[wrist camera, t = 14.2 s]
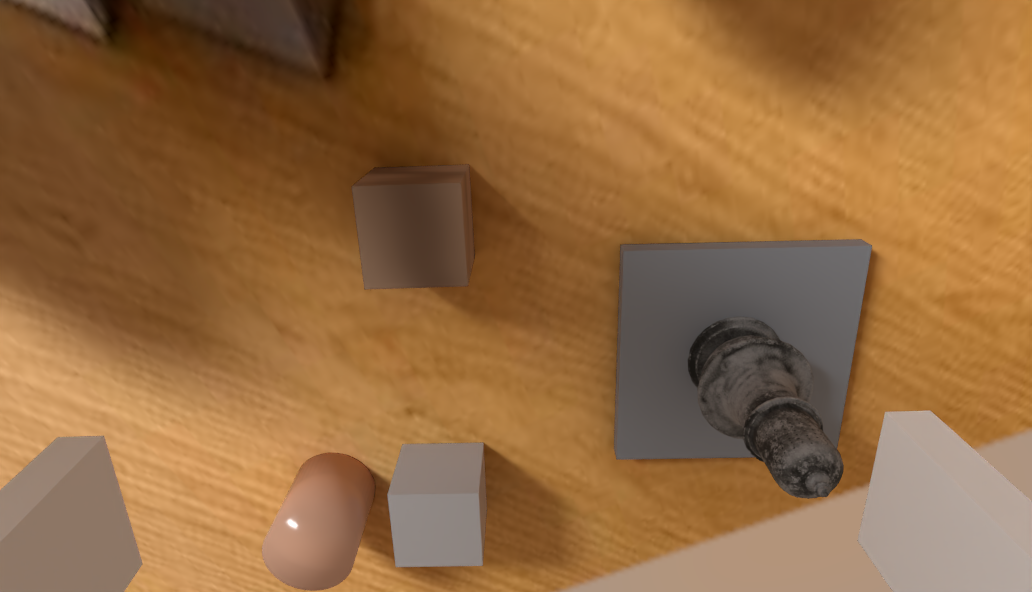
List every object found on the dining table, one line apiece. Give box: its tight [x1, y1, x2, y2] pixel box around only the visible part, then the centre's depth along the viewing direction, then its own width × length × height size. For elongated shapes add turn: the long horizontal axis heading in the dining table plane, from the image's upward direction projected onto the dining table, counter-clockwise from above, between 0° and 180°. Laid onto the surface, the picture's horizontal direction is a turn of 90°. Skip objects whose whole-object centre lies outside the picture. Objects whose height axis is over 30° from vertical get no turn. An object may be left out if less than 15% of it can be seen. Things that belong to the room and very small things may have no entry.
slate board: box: [614, 239, 872, 459], centre depth 38 cm, size 13×13×1 cm
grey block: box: [387, 443, 487, 567], centre depth 39 cm, size 5×5×5 cm
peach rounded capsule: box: [262, 453, 375, 591], centre depth 39 cm, size 5×5×6 cm
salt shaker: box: [688, 316, 843, 499], centre depth 32 cm, size 6×6×12 cm
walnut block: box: [352, 164, 475, 289], centre depth 33 cm, size 5×5×5 cm
